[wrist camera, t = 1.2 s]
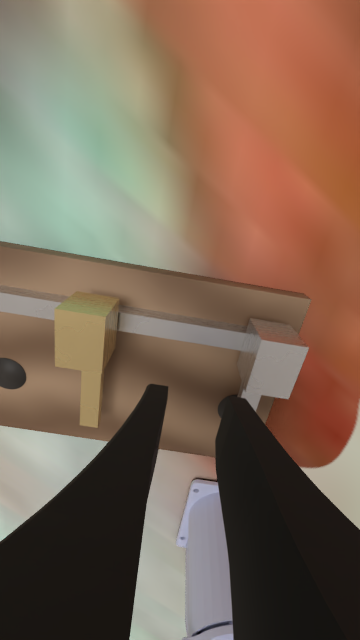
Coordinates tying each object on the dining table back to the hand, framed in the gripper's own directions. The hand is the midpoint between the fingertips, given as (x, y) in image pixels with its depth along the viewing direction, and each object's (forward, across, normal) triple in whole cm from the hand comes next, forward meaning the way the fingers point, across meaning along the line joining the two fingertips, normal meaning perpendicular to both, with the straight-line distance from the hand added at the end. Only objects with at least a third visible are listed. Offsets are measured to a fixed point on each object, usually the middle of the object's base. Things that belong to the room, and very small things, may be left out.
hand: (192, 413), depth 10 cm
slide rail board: (+10, +4, +4) cm, 12 cm away
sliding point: (+8, +6, +4) cm, 11 cm away
